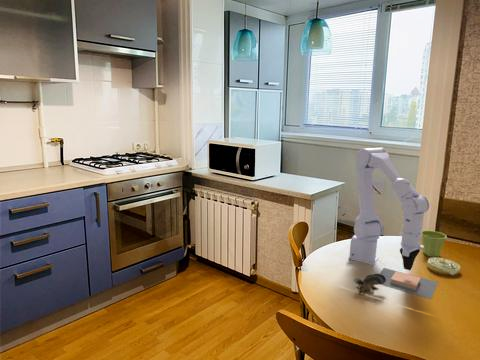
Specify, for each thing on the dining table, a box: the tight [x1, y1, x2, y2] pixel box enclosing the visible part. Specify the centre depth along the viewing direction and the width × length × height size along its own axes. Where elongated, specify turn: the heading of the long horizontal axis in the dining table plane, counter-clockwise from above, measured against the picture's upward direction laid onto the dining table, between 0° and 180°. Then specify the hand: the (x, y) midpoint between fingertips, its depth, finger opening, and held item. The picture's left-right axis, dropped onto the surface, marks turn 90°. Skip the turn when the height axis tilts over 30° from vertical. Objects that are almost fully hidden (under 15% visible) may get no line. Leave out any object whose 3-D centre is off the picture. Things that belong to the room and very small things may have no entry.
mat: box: [378, 267, 439, 300], centre depth 124 cm, size 18×14×1 cm
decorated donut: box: [426, 256, 461, 276], centre depth 134 cm, size 10×11×4 cm
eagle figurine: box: [353, 273, 386, 295], centre depth 118 cm, size 8×7×9 cm
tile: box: [390, 270, 420, 290], centre depth 123 cm, size 8×2×7 cm
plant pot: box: [421, 230, 448, 258], centre depth 148 cm, size 9×9×9 cm
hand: (407, 268), depth 124 cm, fingers closed
